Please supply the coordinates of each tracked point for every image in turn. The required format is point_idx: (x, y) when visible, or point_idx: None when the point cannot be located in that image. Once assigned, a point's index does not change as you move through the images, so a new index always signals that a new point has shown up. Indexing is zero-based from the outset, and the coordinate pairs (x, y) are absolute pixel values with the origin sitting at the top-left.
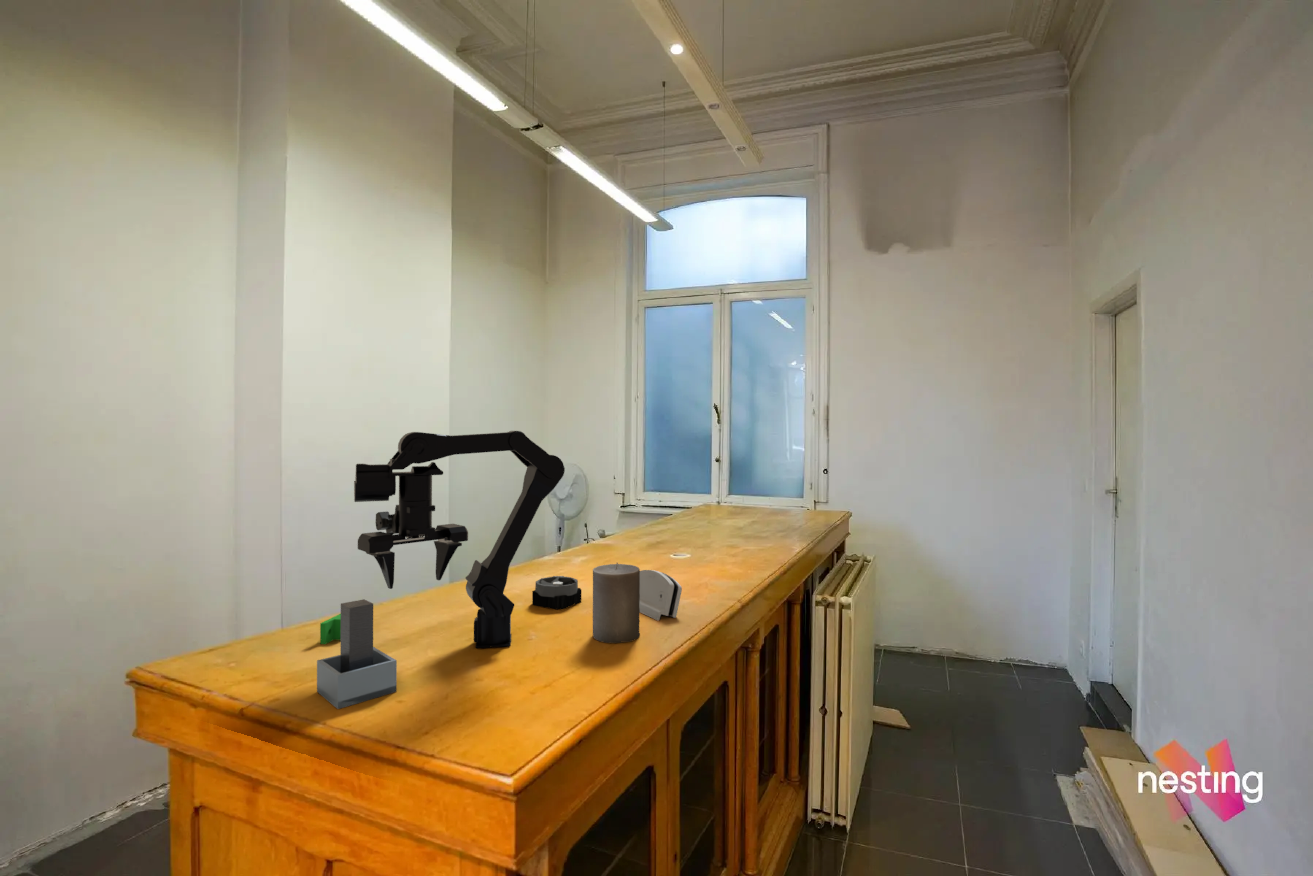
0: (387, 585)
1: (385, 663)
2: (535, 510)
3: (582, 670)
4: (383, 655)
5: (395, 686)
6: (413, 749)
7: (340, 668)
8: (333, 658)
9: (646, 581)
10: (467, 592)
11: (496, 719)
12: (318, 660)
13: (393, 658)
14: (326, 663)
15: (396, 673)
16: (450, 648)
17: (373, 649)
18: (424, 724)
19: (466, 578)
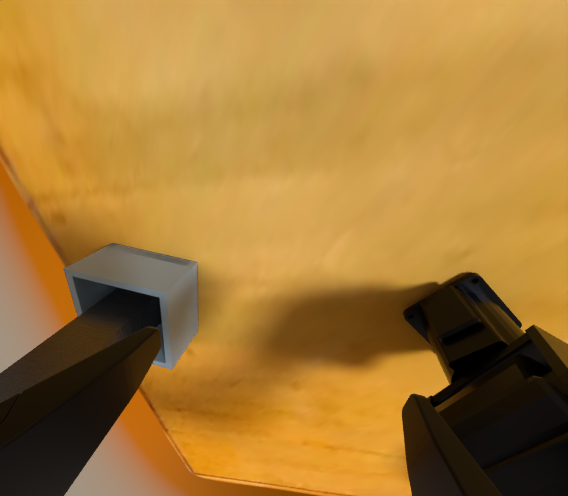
0: (137, 335)
1: (155, 364)
2: None
3: (398, 462)
4: (164, 340)
5: (193, 336)
6: (158, 416)
7: (111, 292)
8: (91, 280)
9: None
10: (503, 384)
11: (238, 440)
12: (65, 270)
13: (171, 361)
14: (76, 294)
15: (183, 352)
16: (379, 266)
17: (160, 304)
18: (184, 400)
19: (549, 450)
